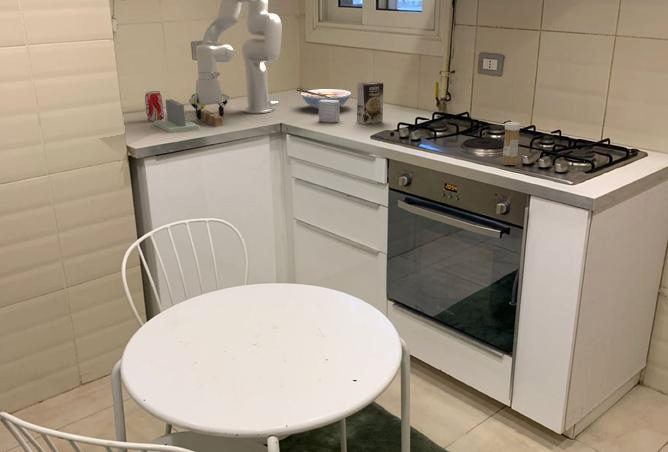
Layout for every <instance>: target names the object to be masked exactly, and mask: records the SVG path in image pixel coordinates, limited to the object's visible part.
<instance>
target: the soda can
mask: <svg viewBox="0 0 668 452" xmlns="http://www.w3.org/2000/svg"><path fill="white" fill-rule="evenodd" d="M144 103H145V110H146V111H145V112H146V118H147V120H148V121H150V122H155V121H158V120H164V117H165V114H164V113H165V112H164V101H163V96H162V94H161V91H159V90H149V91H146V92H145V96H144Z"/></svg>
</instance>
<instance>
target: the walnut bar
mask: <svg viewBox="0 0 668 452" xmlns="http://www.w3.org/2000/svg"><path fill="white" fill-rule="evenodd" d="M201 118H202V119H201V120H200V121H203V122H205V123H207V124H209V125H211V126H213V127H215V128H217V127H223V126H224V124H223V123H224V122H223V117H221V116H219V114H216V113H214V112H212V111H209V110H208V109H205V110H204V109H203V110H201Z"/></svg>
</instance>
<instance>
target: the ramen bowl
mask: <svg viewBox="0 0 668 452" xmlns="http://www.w3.org/2000/svg"><path fill="white" fill-rule="evenodd" d="M296 92H300V93H301V94H300V95H301V97H302V99H303V100H304V101H305V103H306V104H307V105H309V106H310V107H312V108H314V109H317V110H318V109H319V101H320V100H339V108H340V107H342V106H343V105H345V104H346V103H347V101H348V100H349V99H350V96H351V91H348V90H344V89H334V88H333V89H332V88H329V89H327V88H326V89H322V88H321V89H311V90H306V89H302V88H300V89H296Z"/></svg>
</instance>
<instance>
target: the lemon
mask: <svg viewBox="0 0 668 452" xmlns="http://www.w3.org/2000/svg"><path fill="white" fill-rule="evenodd" d="M195 95H196V93H193V94H192V95H191V96H190V98H192V97H193V96H195ZM194 104H195V105H196V104H197V103H196V99H195V100H194ZM206 106H207V105H202V106H201V108H200V110H201V111H202V110H204V109H205V108H206Z"/></svg>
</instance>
